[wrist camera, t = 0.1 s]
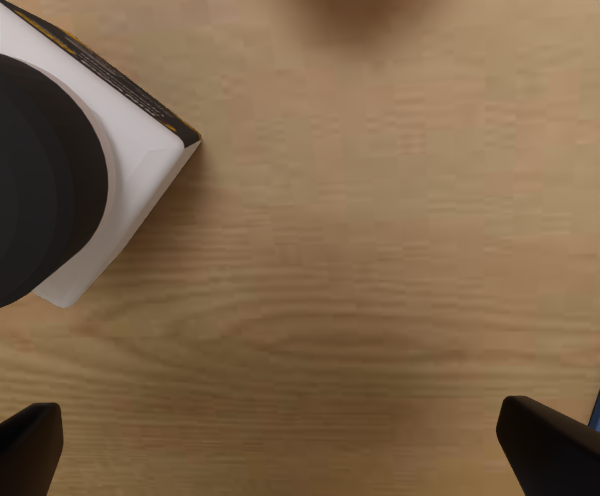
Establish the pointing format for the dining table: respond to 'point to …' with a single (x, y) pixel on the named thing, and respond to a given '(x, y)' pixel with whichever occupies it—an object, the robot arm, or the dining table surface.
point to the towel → (596, 416)
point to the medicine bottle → (73, 160)
